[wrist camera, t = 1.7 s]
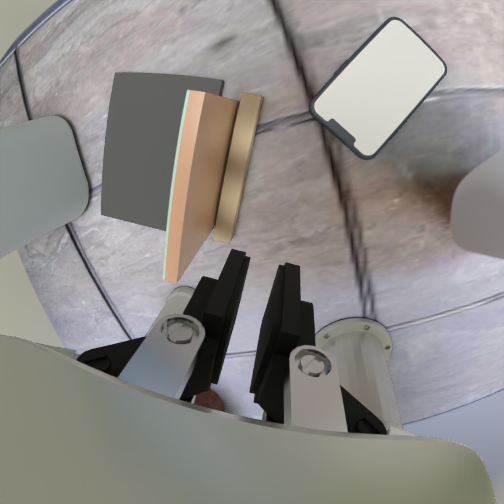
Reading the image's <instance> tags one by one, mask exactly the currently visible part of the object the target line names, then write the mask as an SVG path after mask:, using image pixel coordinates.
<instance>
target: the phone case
mask: <svg viewBox="0 0 504 504" xmlns="http://www.w3.org/2000/svg"><path fill="white" fill-rule="evenodd" d="M446 73H447V66H446V64H445V62H444V61H443V60H442V59H441V57H440V56H439V55H438V54H437V53H436V52H435V51H434V50H433V49H432V48H431V47H430V46H429V45H428V44H427V43H426V42H425V41H424V40H423V39H422V38H421V37H420V36H419V35H418V34H417V33H416V32H415V31H414V30H413V29H412V28H411V27H410V26H408V25H407V24H406V23H405V22H404V21H403V20H402V19H400V18H397V17H391V18H389V19H387V20H386V21H385V22H384V23H383V24H382V25H381V26H380V27H379V28H378V29H377V30H376V31H375V32H374V33H373V34H372V35H371V36H370V37H369V39H368V40H367V41H366V42H365V43H364V44H363V45H362V46H361V47H360V48H359V49H358V50H357V51H356V52H355V53H354V54H353V55H352V56H351V57H350V58H349V59H348V61H347V60H346V61H345V62H344V63H343V64H342V65H341V66H340V68H339V69H338V70H337V71H336V72H335V73H334V74H335V75H334V76H333V77H332V78H331V79H330V80H329V81H328V82H327V83H326V84H325V86H324V87H323V88H322V89H321V90H320V91H319V92H318V93H317V95H316V96H315V97H314V98H313V99H312V100H311V102H310V104H309V111H310V113H311V115H312V116H313V117H314V118H315V119H316V120H318V121H319V122H320V123H321V124H322V125H324V126H325V127H326V128H327V129H328V130H329V131H330V132H332V133H333V134H334V135H335V136H336V137H337V138H338V139H340V140H341V141H342V142H343V143H344V144H345V145H346V146H347V147H348V148H349V149H351V150H352V151H353V152H354V153H355V154H356V155H357V156H358V157H360V158H362V159H365V160H368V159H372V158H374V157H375V156H376V155H377V154H378V153H379V151H380V150H381V149H382V148H383V147H384V146H385V145H386V144H387V142H388V141H389V140H390V139H392V137H393V136H394V135H395V134H396V133H397V132H398V130H399V129H400V128H401V127H402V126H403V125H404V124H405V123H406V121H407V120H408V119H409V117H410V116H411V115H412V114H413V113H414V112H415V110H416V109H417V108H418V107H419V106H420V105H421V103H422V102H423V101H424V100H425V99H426V98H427V96H428V95H429V94H430V93H431V92H432V91H433V89H434V88H435V87H436V86H437V85H438V84H439V82H440V81H441V80H442V79H443V78H444V76H445V75H446Z"/></svg>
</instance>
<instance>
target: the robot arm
mask: <svg viewBox="0 0 504 504" xmlns="http://www.w3.org/2000/svg"><path fill="white" fill-rule="evenodd" d="M245 255H246V252H242V251H238V250H234V249H232V250H231V252H230V254H229V256H228V258H227V261H226V263H225V265H224V267H223V270H222V272H221V274H220V276H219V279H218V280H216V279H213V278H209V277H205V276H203V277H202V278H201V280H200V282H199V284H198V285H197V287H196V289H195V291H194V293H193V295H192V297H191V299H190V300H189V302H188V304H187V306H186V308H185V310H184V312H183V314H171V315H167V316H165V317H163V318H161V319H160V320H159V321H158V322H157V323H156V325H155V326H154V327H153V329H152V330H151V331H150V333H149V334H148V336H145V337H141V338H137V339H133V340H129V341H124V342H120V343H116V344H112V345H108V346H103V347H99V348H94V349H91V350H88V351H85V352H84V353H82V354H81V355H80V354H77V353H76V350H71V349H66V348H60V347H54V346H49V345H44V344H39V343H34V342H32V341H28V340H25V339H21V338H17V337H12V336H6V335H0V504H496V500H495V495H494V491H493V487H492V483H491V480H490V477H489V474H488V471H487V469H486V466H485V464H484V462H483V460H482V458H481V457H480V455H479V454H478V453H477V452H476V451H474V450H473V449H471V448H470V447H468V446H466V445H464V444H461V443H458V442H455V441H452V440H447V439H442V438H436V437H426V436H420V435H416V434H413V433H410V432H407V431H404V430H403V425H402V421H401V416H400V412H399V408H398V403H397V399H396V395H395V391H394V387H393V383H392V379H391V376H390V372H389V368H388V365H387V361H388V360H389V358H390V356H391V352H392V340H391V337H390V334H389V332H388V331H387V330H386V328H385V327H384V326H382V325H381V324H380V323H378V322H376V321H374V320H370V319H365V318H350V319H345V320H340V321H338V322H335V323H332V324H330V325H329V326H327V327H325V328H323V329H322V330H321V331H320V332H318V333H317V334H316V335H315V325H314V310H313V304H312V303H309V302H305V301H301V295H300V266H298V265H294V264H290V263H285V265H284V266H283V265H279V267H278V270H277V273H276V277H275V280H274V283H273V287H272V290H271V294H270V297H269V300H268V303H267V307H266V310H265V313H264V317H263V320H262V324H261V328H260V334H259V340H258V346H257V352H256V358H255V363H254V369H253V375H252V380H251V386H250V393H254V394H255V397H254V403H258V404H259V405H260V406H261V408H262V409H263V410H264V413H263V418H262V420H257V419H252V418H248V417H243V416H239V415H234V414H230V413H226V412H222V411H218V410H214V409H210V408H206V407H203V406H199V405H196V404H193V403H194V401H195V397H196V395H197V394H200V393H202V392H205V391H208V392H209V389H210V386H211V383H213V384H218V380H219V377H220V373H221V370H222V366H223V362H224V359H225V355H226V352H227V348H228V345H229V341H230V338H231V334H232V331H233V327H234V324H235V320H236V316H237V312H238V308H239V304H240V300H241V295H242V291H243V287H244V283H245V279H246V275H247V270H248V266H249V262H250V257H247V256H245Z"/></svg>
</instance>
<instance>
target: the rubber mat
mask: <svg viewBox="0 0 504 504" xmlns="http://www.w3.org/2000/svg"><path fill="white" fill-rule="evenodd" d="M223 85H224V81H223V80H217V79H209V78H201V77H192V76H182V75H169V74H153V73H115V76H114V81H113V87H112V93H111V99H110V105H109V112H108V120H107V128H106V137H105V147H104V159H103V173H102V194H101V215H104V216H108V217H112V218H116V219H120V220H124V221H128V222H132V223H136V224H140V225H144V226H148V227H152V228H156V229H160V230H164V231H166V228H167V218H168V209H169V200H170V192H171V184H172V176H173V169H174V162H175V155H176V149H177V143H178V137H179V131H180V125H181V119H182V114H183V108H184V103H185V98H186V93H187V90H193V91H201V92H207V93H210V94H214V95H218V96H221V94H222V89H223Z"/></svg>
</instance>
